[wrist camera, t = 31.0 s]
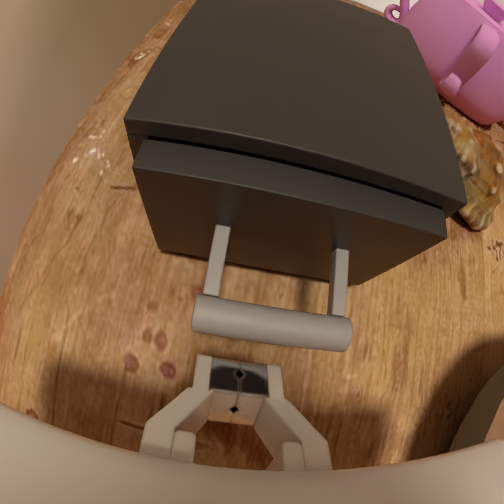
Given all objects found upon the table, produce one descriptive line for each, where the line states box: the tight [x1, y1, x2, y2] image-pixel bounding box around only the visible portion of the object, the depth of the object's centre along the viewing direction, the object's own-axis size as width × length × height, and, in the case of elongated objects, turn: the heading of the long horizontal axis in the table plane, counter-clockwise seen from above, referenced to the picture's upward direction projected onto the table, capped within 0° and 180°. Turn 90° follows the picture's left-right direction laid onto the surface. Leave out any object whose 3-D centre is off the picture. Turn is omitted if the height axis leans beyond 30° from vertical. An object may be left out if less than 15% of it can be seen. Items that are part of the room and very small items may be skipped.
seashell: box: [442, 106, 504, 230], centre depth 21 cm, size 9×8×10 cm
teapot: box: [384, 0, 504, 125], centre depth 24 cm, size 19×21×14 cm
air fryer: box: [124, 0, 468, 219], centre depth 16 cm, size 14×13×10 cm
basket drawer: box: [132, 139, 447, 352], centre depth 15 cm, size 17×11×8 cm
